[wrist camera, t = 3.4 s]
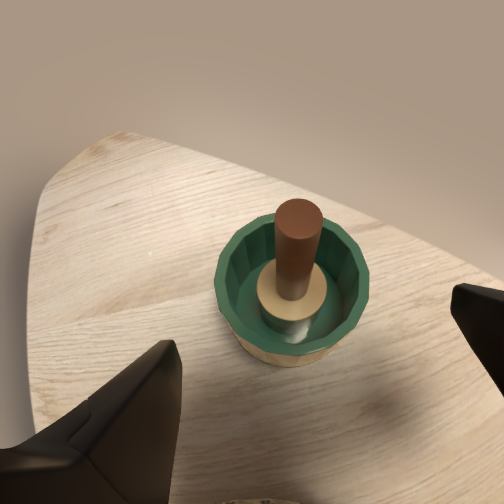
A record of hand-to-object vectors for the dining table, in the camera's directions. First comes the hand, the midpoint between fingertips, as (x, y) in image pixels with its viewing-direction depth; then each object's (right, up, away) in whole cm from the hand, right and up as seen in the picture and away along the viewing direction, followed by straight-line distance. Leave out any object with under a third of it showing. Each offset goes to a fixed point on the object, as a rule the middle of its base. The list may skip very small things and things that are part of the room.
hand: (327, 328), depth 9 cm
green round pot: (0, -2, +13) cm, 13 cm away
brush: (0, -1, +12) cm, 12 cm away
